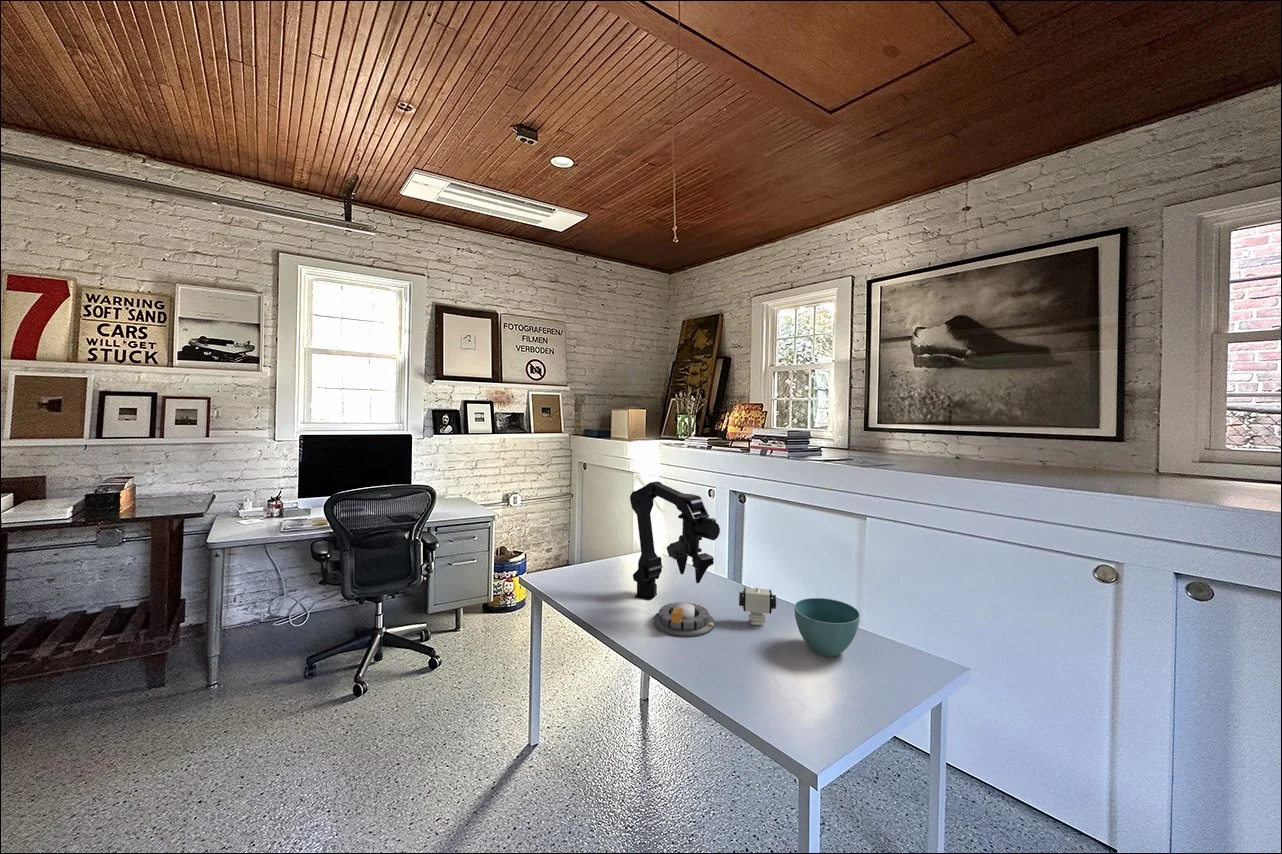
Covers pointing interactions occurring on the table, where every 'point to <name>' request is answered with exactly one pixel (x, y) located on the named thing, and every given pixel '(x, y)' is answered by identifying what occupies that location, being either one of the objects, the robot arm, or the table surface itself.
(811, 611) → the teal hollow rounded piece
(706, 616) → the grey toothed bowl
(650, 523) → the robot arm
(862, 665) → the table surface
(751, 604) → the pneumatic valve
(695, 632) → the cap base
